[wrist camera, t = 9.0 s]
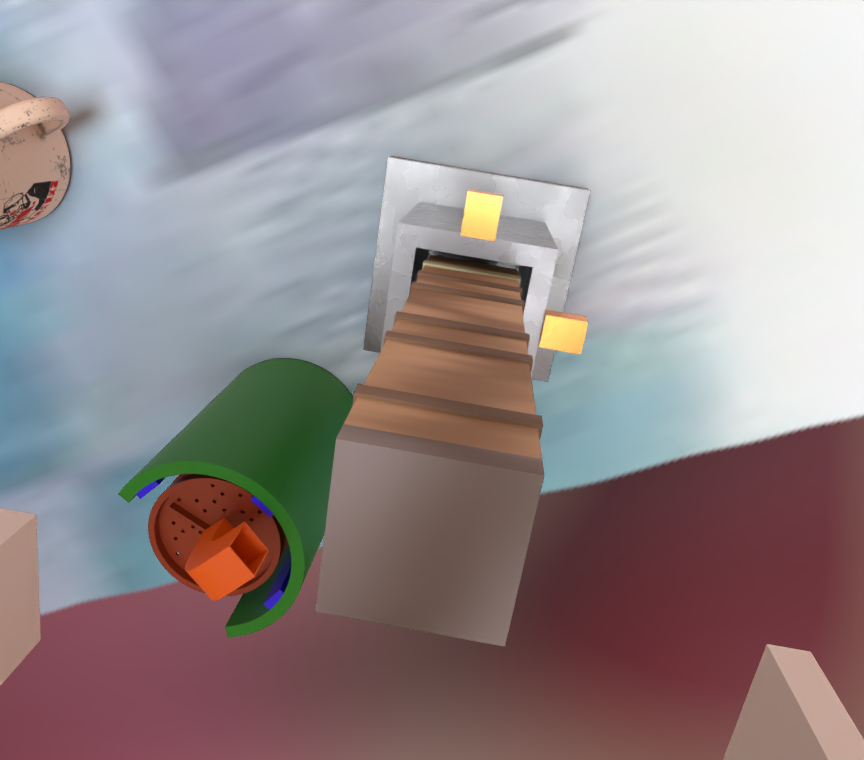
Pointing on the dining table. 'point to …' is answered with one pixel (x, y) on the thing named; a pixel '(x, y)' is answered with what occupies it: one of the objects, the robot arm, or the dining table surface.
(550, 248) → the stand base
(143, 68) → the dining table surface
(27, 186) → the teacup with lid
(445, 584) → the column
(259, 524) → the motor
